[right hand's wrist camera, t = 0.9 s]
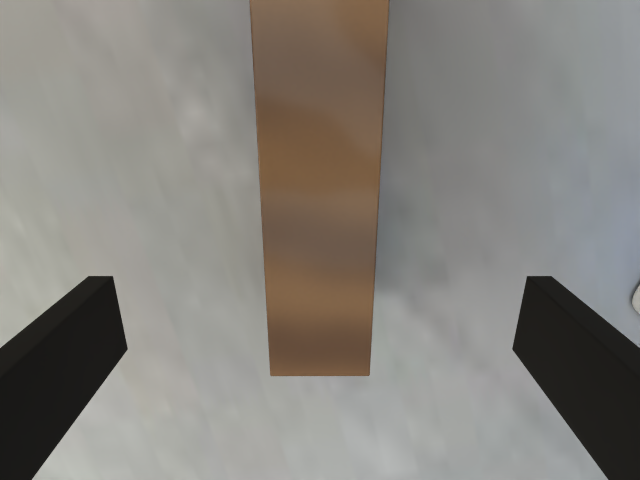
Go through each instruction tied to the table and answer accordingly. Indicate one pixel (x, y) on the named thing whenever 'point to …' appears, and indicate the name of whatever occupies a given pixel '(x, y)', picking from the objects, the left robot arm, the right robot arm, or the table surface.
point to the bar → (319, 177)
